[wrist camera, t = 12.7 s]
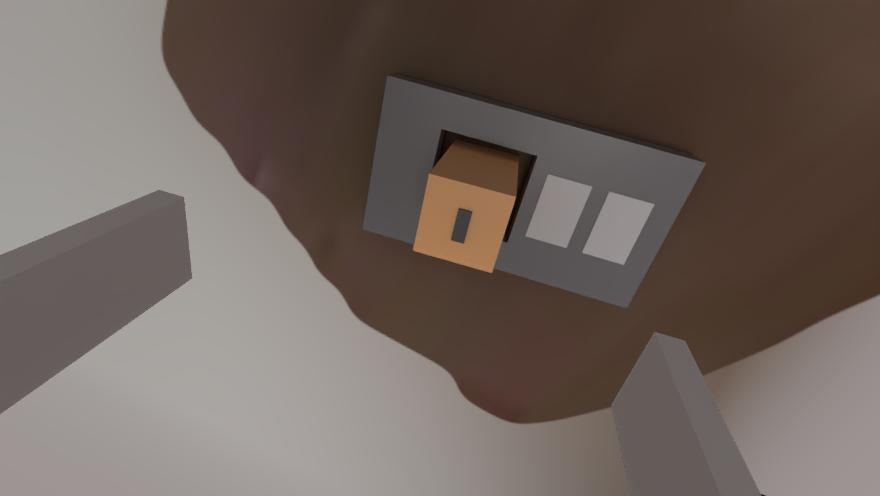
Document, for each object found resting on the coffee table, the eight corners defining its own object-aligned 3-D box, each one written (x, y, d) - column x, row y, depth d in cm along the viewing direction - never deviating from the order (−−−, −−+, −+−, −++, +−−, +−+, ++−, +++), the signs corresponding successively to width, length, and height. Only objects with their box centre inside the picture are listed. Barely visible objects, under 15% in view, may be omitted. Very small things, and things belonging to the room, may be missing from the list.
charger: (455, 138, 32) (428, 174, 23) (519, 155, 32) (516, 198, 23) (442, 198, 34) (411, 252, 25) (500, 214, 34) (491, 275, 25)
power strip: (397, 73, 31) (386, 75, 29) (692, 154, 30) (706, 163, 27) (372, 218, 36) (361, 229, 34) (620, 291, 35) (627, 309, 33)
